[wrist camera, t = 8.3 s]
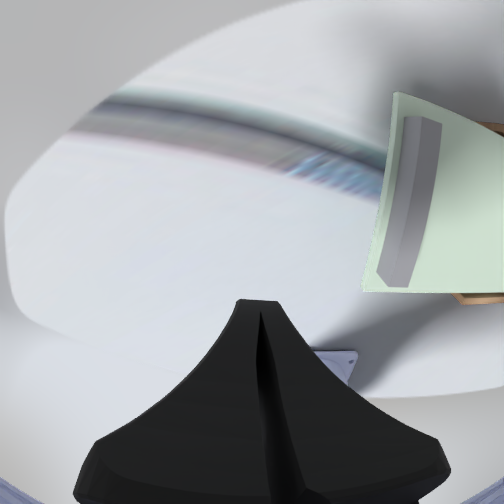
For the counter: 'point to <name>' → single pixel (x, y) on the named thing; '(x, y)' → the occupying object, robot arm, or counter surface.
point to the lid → (438, 205)
